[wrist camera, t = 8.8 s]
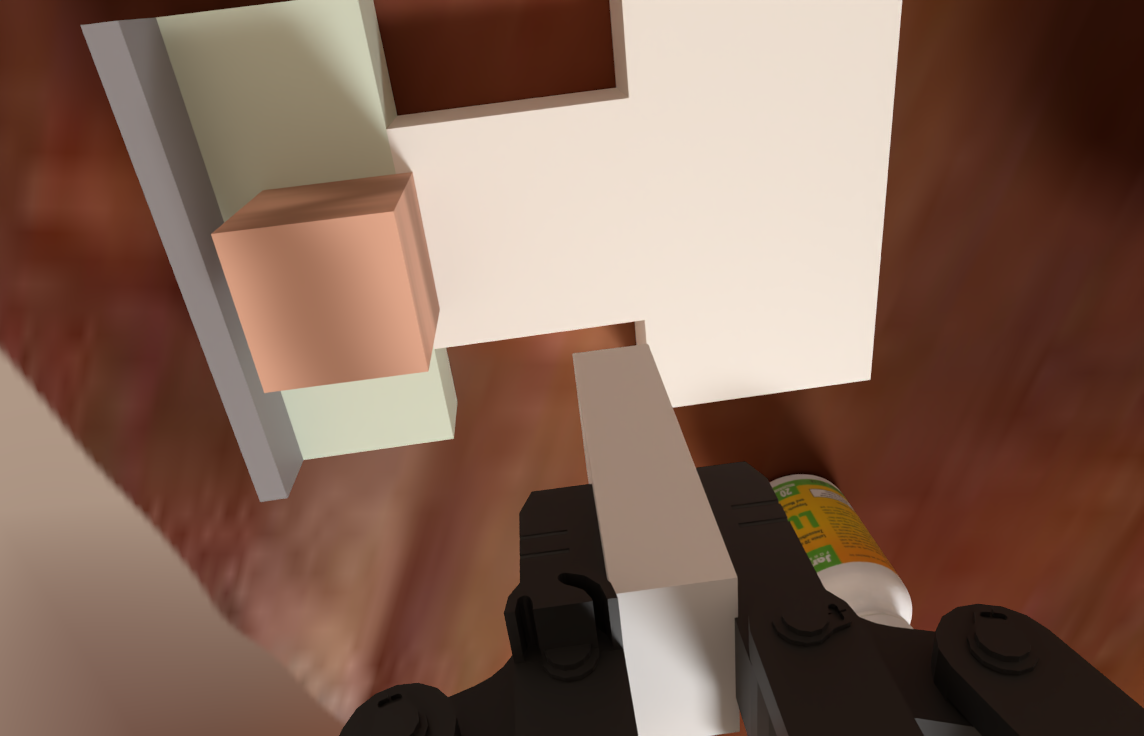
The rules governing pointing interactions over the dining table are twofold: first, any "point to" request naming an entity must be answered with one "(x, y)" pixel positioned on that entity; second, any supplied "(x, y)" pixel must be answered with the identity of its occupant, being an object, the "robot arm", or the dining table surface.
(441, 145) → the board
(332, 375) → the block
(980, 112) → the dining table surface
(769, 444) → the dining table surface
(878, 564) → the supplement bottle
